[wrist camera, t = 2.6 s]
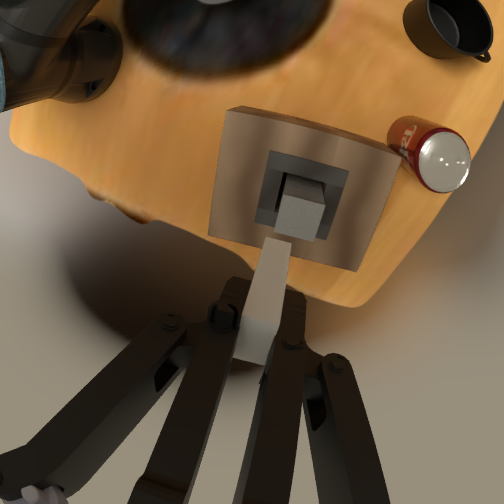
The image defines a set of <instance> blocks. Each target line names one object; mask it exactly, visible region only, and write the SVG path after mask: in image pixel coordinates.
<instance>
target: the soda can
mask: <svg viewBox="0 0 504 504" xmlns="http://www.w3.org/2000/svg"><path fill="white" fill-rule="evenodd" d="M387 144H388V147H389V148H390V149H392V150H393V151H394V152H396V153H397V154H398V155H399V156H401V157H402V159H401V162H400V164H401V165H402V166H403V167H404V168H405V169H406V170H407V171H408V172H409V173H411V174H412V175H413V176H414V177H415V178H416V179H417V180H418V181H419V182H420V183H421V184H422V185H423V186H424V187H426V188H427V189H428V190H430V191H432V192H435V193H449V192H452V191H454V190H456V189H457V188H458V187H460V186H461V185H462V184H463V182H464V181H465V179H466V178H467V176H468V173H469V170H470V165H471V157H470V151H469V148H468V146H467V144H466V142H465V140H464V139H463V137H462V136H461V135H460V134H459V133H457V132H456V131H454V130H452V129H450V128H447V127H445V126H442V125H439V124H436V123H434V122H431V121H428V120H425V119H422V118H419V117H415V116H404V117H401V118H399V119H398V120H396V121H395V122H394V123H393V124H392V126H391V127H390V129H389V132H388V137H387Z"/></svg>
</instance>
